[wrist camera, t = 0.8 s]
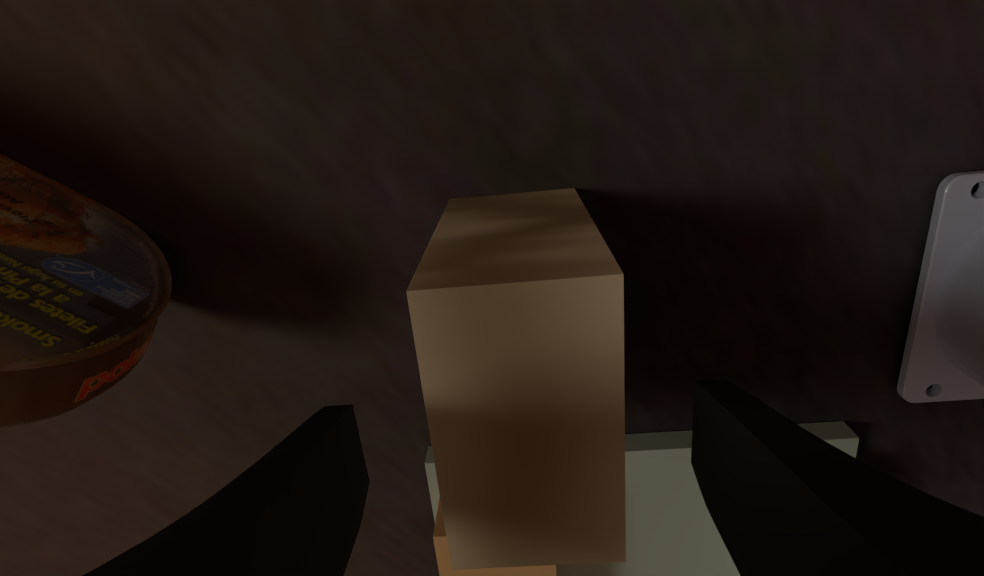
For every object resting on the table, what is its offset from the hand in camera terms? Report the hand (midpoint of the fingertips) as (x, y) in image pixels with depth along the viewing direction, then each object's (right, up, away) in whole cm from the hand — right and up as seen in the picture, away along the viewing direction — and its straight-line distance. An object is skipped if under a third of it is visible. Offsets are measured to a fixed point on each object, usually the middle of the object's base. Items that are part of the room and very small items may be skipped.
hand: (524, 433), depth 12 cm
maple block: (0, +3, +7) cm, 8 cm away
